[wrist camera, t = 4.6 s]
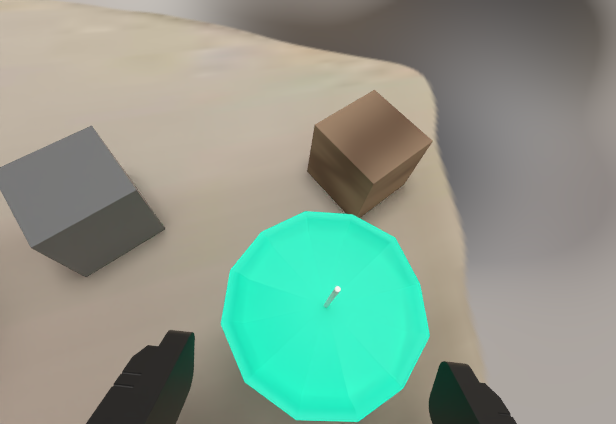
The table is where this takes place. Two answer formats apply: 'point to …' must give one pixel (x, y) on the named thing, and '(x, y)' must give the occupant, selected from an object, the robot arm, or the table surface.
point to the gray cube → (77, 203)
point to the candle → (325, 316)
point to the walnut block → (365, 153)
